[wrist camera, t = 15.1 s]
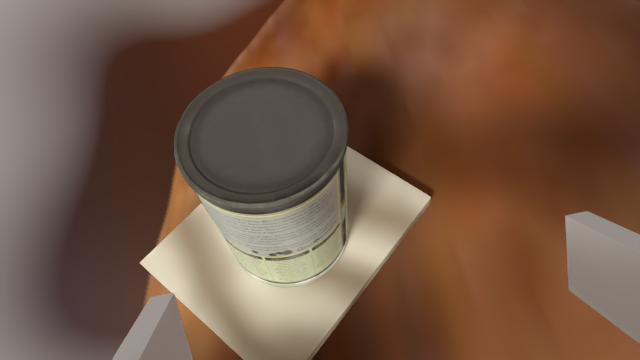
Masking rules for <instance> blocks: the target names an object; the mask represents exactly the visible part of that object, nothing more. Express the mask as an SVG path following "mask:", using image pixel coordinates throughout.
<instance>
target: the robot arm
mask: <svg viewBox="0 0 640 360" xmlns="http://www.w3.org/2000/svg"><path fill="white" fill-rule="evenodd" d="M565 219H566V241H567V263H568V285H569V290H570V291H571V292H572V293H574V294H575V295H576V296H578V297H579V298H580V299H581V300H583V301H584V302H585V303H587V304H588V305H589V306H591V307H592V308H593V309H595V310H596V311H597V312H599V313H600V314H601V315H602V316H604V317H605V318H606V319H608V320H609V321H610V322H612V323H613V324H614V325H616V326H617V327H618V328H620V329H621V330H622V331H624V332H625V333H626V334H627V335H629V336H630V337H631V338H633V339H634V340H635V341H637V342H638V343H639V344H640V235H639V234H637V233H635V232H633V231H630V230H628V229H626V228H624V227H622V226H619V225H617V224H615V223H613V222H610V221H608V220H606V219H604V218H602V217H599V216H597V215H595V214H593V213H590V212H588V211H586V212H581V213H576V214H571V215H566V216H565ZM112 360H193V357H192V354H191V350H190V347H189V343H188V340H187V336H186V333H185V329H184V326H183V322H182V319H181V315H180V312H179V308H178V305H177V301H176V298H175V294H174V293H170V294H165V295H160V296H155V297H150V299H149V301H148V302H147V304H146V305H145V307H144V309H143V310H142V312H141V314H140V315H139V317H138V318H137V320H136V322H135V323H134V325H133V327H132V328H131V330H130V331H129V333H128V335H127V336H126V338H125V340H124V341H123V343H122V344H121V346H120V348H119V349H118V351H117V353H116V354H115V356H114V357H113V359H112Z"/></svg>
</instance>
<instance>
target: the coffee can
mask: <svg viewBox="0 0 640 360" xmlns="http://www.w3.org/2000/svg"><path fill="white" fill-rule="evenodd" d="M348 134H349V130H348V119H347V115H346V112H345V109H344V107H343V104H342V102H341V101H340V99H339V98H338V96H337V95H336V94H335V93H334V91H333V90H332V89H331V88H329V87H328V86H327V85H326V84H325V83H323V82H322V81H320V80H319V79H317V78H315V77H313V76H312V75H309V74H307V73H305V72H302V71H298V70H295V69H289V68H281V67H262V68H253V69H247V70H243V71H240V72H237V73H234V74H231V75H229V76H227V77H224V78H222V79H220V80H218V81H217V82H215V83H213V84H212V85H210V86H209V87H208V88H206V89H205V90H203V91H202V92H201V93H200V94H199V95H198V96H197V97H196V98H195V99H194V100H193V101H192V102H191V103H190V104H189V106H188V107H187V109H186V110H185V111H184V113H183V115H182V117H181V119H180V121H179V123H178V125H177V129H176V133H175V139H174V154H175V159H176V162H177V166H178V168H179V170H180V172H181V174H182V176H183V177H184V179H185V180H186V182H187V183H188V184H189V185H190V187H191V188H192V189H193V190H194V191H195V193H196V194H197V196H198V197H199V199H200V200H201V202H202V204H203V206H204V207H205V208H206V210H207V212H208V213H209V215H210V216H211V218H212V219H213V221H214V222H215V224H216V226H217V227H218V229H219V230H220V232H221V234H222V235H223V237H224V238H225V240H226V242H227V243H228V245H229V247H230V249H231V250H232V251H233V253H234V255H235V258H236V259H237V261H238V263H239V264H240V266H241V267H242V268H243V269H244V270H245V271H246V272H247V273H248V274H249V275H250V276H252V277H253V278H255V279H257V280H259V281H260V282H263V283H266V284H269V285H273V286H278V287H292V286H300V285H303V284H307V283H310V282H312V281H314V280H316V279H318V278H320V277H321V276H323V275H324V274H325V273H327V272H328V271H330V270H331V268H332V267H333V266H334V265H335V264H336V263H337V262H338V260H339V259H340V257H341V256H342V254H343V252H344V250H345V247H346V244H347V241H348V235H349V224H348V216H347V162H346V150H347V144H348Z"/></svg>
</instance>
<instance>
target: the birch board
mask: <svg viewBox="0 0 640 360" xmlns="http://www.w3.org/2000/svg"><path fill="white" fill-rule="evenodd" d="M346 162H347V216H348V224H349V235H348V241H347V244H346V247H345V250H344V252H343V254H342V256H341V257H340V259H339V260H338V262H337V263H336V264H335V265H334V266H333V267H332V268H331V270H330V271H328V272H327V273H325V274H324V275H323V276H321V277H320V278H318V279H316V280H314V281H312V282H310V283H307V284H303V285H300V286H292V287H278V286H273V285H269V284H266V283H263V282H260V281H259V280H257V279H255V278H253V277H252V276H250V275H249V274H248V273H247V272H246V271H245V270H244V269H243V268H242V267H241V266H240V264H239V263H238V261H237V259H236V258H235V255H234V253H233V251H232V250H231V249H230V247H229V245H228V243H227V242H226V240H225V238H224V237H223V235H222V234H221V232H220V230H219V229H218V227H217V226H216V224H215V222H214V221H213V219H212V218H211V216H210V215H209V213H208V212H207V210H206V208H205V207H204V206H203V204H202V203H201V204H200V205H199V206H198V207H197V208H196V209H195V210H194V211H193V212H192V213H191V214H190V215H189V216H188V217H186V218H185V219H184V220H183V221H182V222H181V223H180V224H179V225H178V226H177V227H176V228H175V229H174V230H173V231H172V232H171V233H170V234H169V235H168V236H167V237H166V238H165V239H164V240H163V241H162V242H161V243H160V244H159V245H158V246H157V247H155V248H154V249H153V250H152V251H151V252H150V253H149V254H148V255H147V256H146V257H145V258H144V259H143V260H142V261H141V262H140V264H141V265H143V266H144V267H145V268H146V269H147V270H148V271H149V272H150V273H151V274H152V275H153V276H154V277H155V278H156V279H157V280H158V281H160V282H161V283H162V284H163V285H164V286H165V287H166V288H167V289H168V290H169V291H170V292H171V293H174V294H175V296H176V297H177V298H178V299H179V300H180V301H181V302H182V303H183V304H184V305H185V306H186V307H187V308H189V309H190V310H191V311H192V312H193V313H194V314H195V315H196V316H197V317H198V318H199V319H200V320H201V321H202V322H204V323H205V324H206V325H207V326H208V327H209V328H210V329H211V330H212V331H213V332H214V333H215V334H216V335H218V336H219V337H220V338H221V339H222V340H223V341H224V342H225V343H226V344H227V345H228V346H229V347H230V348H231V349H233V350H234V351H235V352H236V353H237V354H238V355H239V356H240V357H241V358H242V359H243V360H311V359H312V358H313V357H314V356H315V354H316V353H317V352H318V350H319V349H320V348H321V346H322V345H323V344H324V342H325V341H326V340H327V338H328V337H329V336H330V334H331V333H332V332H333V331H334V329H335V328H336V327H337V325H338V324H339V323H340V321H341V320H342V319H343V317H344V316H345V315H346V313H347V312H348V311H349V309H350V308H351V307H352V306H353V304H354V303H355V302H356V300H357V299H358V298H359V296H360V295H361V294H362V292H363V291H364V290H365V288H366V287H367V286H368V285H369V283H370V282H371V281H372V279H373V278H374V277H375V275H376V274H377V273H378V271H379V270H380V269H381V267H382V266H383V265H384V263H385V262H386V261H387V260H388V258H389V257H390V256H391V254H392V253H393V252H394V250H395V249H396V248H397V246H398V245H399V244H400V242H401V241H402V240H403V238H404V237H405V236H406V235H407V233H408V232H409V231H410V229H411V228H412V227H413V225H414V224H415V223H416V221H417V220H418V219H419V217H420V216H421V215H422V213H423V212H424V211H425V210H426V208H427V207H428V206H429V203H430V200H431V197H430V196H429V195H427V194H425V193H424V192H422V191H420V190H419V189H417V188H415V187H414V186H412V185H410V184H409V183H407V182H406V181H404V180H402V179H401V178H399V177H397V176H396V175H394V174H392V173H391V172H389V171H387V170H386V169H384V168H383V167H381V166H379V165H378V164H376V163H374V162H373V161H371V160H369V159H368V158H366V157H364V156H363V155H361V154H360V153H358V152H356V151H355V150H353V149H351V148H350V147H348V146H347V150H346Z"/></svg>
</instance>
